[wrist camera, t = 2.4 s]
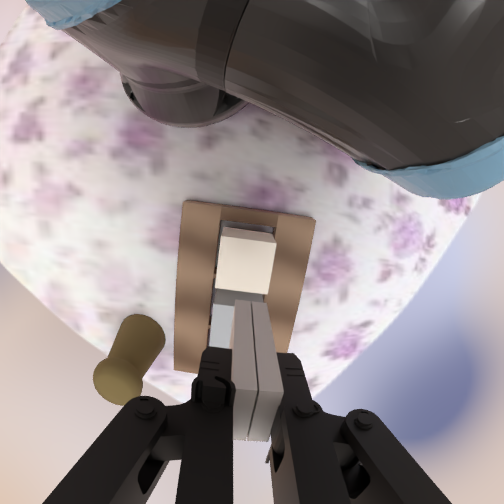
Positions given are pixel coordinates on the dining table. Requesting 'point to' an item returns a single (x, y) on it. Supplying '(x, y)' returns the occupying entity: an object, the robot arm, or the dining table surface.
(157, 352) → the pepper shaker
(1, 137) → the dining table surface
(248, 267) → the cream cube
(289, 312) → the wooden slotted tray
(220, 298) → the key slate
